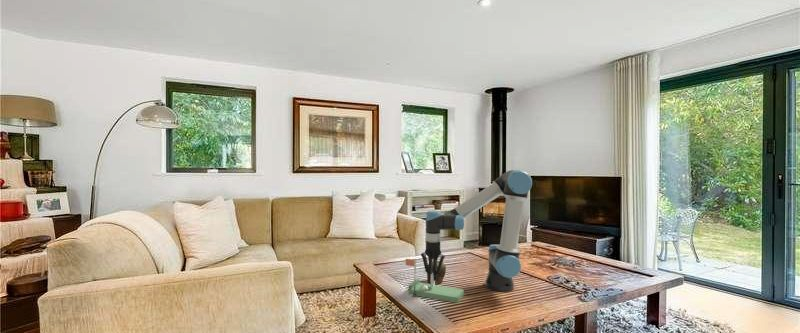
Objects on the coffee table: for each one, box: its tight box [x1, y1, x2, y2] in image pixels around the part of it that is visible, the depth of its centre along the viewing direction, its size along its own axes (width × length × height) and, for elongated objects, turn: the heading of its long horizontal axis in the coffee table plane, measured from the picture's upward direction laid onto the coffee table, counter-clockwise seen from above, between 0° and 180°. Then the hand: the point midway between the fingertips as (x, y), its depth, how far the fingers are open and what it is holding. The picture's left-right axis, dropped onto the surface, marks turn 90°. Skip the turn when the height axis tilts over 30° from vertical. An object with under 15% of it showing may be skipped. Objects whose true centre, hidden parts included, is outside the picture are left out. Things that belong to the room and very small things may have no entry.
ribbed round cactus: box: [426, 260, 447, 285], centre depth 190 cm, size 11×11×12 cm
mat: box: [408, 278, 465, 303], centre depth 171 cm, size 26×12×4 cm, turn 65°
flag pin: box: [405, 258, 418, 298], centre depth 169 cm, size 6×2×19 cm, turn 65°
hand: (432, 286), depth 172 cm, fingers closed
